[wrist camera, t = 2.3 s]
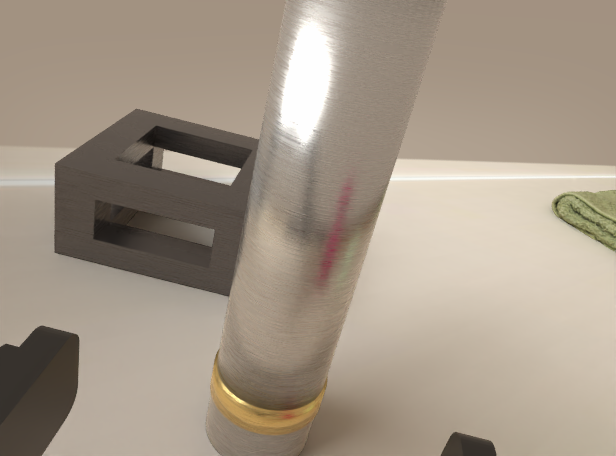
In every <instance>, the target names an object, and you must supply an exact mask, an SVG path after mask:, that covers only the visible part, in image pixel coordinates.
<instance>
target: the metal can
mask: <svg viewBox="0 0 616 456" xmlns="http://www.w3.org/2000/svg"><path fill="white" fill-rule="evenodd" d="M446 3H447V0H286V3H285V8H284V13H283V18H282V24H281V29H280V35H279V40H278V45H277V50H276V55H275V60H274V66H273V71H272V76H271V82H270V87H269V92H268V97H267V102H266V108H265V113H264V118H263V123H262V129H261V134H260V139H259V144H258V150H257V155H256V160H255V165H254V171H253V176H252V181H251V186H250V192H249V197H248V202H247V207H246V212H245V218H244V223H243V228H242V233H241V239H240V244H239V249H238V254H237V260H236V265H235V270H234V275H233V281H232V286H231V291H230V296H229V302H228V307H227V312H226V317H225V323H224V328H223V333H222V338H221V344H220V348H219V350H218V352H217V354H216V357H215V362H214V367H213V372H212V378H211V385H210V389H211V396H210V401H209V407H208V412H207V417H206V431H207V435H208V438H209V440H210V442H211V444H212V445H213V447H214V448H215V449H216V451H217V452H218V453H219V454H220V455H221V456H298V455H299V454H300V453H301V452H302V450H303V448H304V446H305V443H306V440H307V437H308V434H309V431H310V428H311V425H312V422H313V419H314V418H315V416H316V415H317V413H318V410H319V408H320V405H321V402H322V399H323V395H324V392H325V389H326V386H327V375H328V372H329V368H330V365H331V362H332V359H333V356H334V353H335V350H336V347H337V343H338V340H339V337H340V334H341V331H342V328H343V325H344V322H345V318H346V315H347V312H348V309H349V306H350V303H351V300H352V297H353V293H354V290H355V287H356V284H357V281H358V278H359V275H360V272H361V268H362V265H363V262H364V259H365V256H366V253H367V250H368V246H369V243H370V240H371V237H372V234H373V231H374V228H375V225H376V221H377V218H378V215H379V212H380V209H381V206H382V203H383V200H384V196H385V193H386V190H387V187H388V184H389V181H390V178H391V175H392V171H393V168H394V165H395V162H396V159H397V155H398V153H399V150H400V146H401V143H402V140H403V137H404V134H405V131H406V128H407V124H408V121H409V118H410V115H411V112H412V109H413V106H414V102H415V99H416V96H417V93H418V90H419V87H420V84H421V81H422V77H423V74H424V71H425V68H426V65H427V62H428V59H429V56H430V53H431V50H432V46H433V43H434V40H435V37H436V34H437V30H438V27H439V24H440V21H441V18H442V15H443V12H444V9H445V6H446Z"/></svg>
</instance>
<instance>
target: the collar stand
mask: <svg viewBox="0 0 616 456" xmlns="http://www.w3.org/2000/svg"><path fill="white" fill-rule="evenodd" d="M258 144H259V139H254V138H251V137H247V136H243V135H239V134H234V133H231V132H226V131H223V130H219V129H215V128H211V127H207V126H203V125H199V124H195V123H191V122H187V121H183V120H179V119H175V118H171V117H167V116H163V115H159V114H156V113H151V112H148V111H143V110H140V109H135V110H134V111H133V112H131V113H129V114H128V115H126V116H125V117H124V118H122V119H120V120H119V121H117V122H116V123H115V124H113V125H112V126H110V127H109V128H107V129H106V130H104V131H103V132H101V133H100V134H98V135H97V136H95V137H94V138H92V139H91V140H89V141H88V142H86V143H85V144H83V145H82V146H80V147H79V148H77V149H76V150H74V151H73V152H71V153H70V154H69V155H67V156H66V157H64V158H63V159H61V160H60V161H58V162H57V163H55V253H59V254H63V255H67V256H71V257H75V258H79V259H83V260H87V261H91V262H95V263H99V264H103V265H107V266H111V267H115V268H119V269H123V270H127V271H131V272H135V273H139V274H143V275H147V276H151V277H155V278H159V279H163V280H167V281H171V282H175V283H179V284H183V285H187V286H191V287H195V288H199V289H203V290H207V291H211V292H215V293H219V294H223V295H227V296H230V291H231V286H232V281H233V275H234V270H235V265H236V260H237V254H238V249H239V244H240V239H241V233H242V228H243V223H244V218H245V212H246V207H247V202H248V197H249V192H250V186H251V181H252V176H253V171H254V165H255V160H256V155H257V150H258ZM164 149H166V150H170V151H174V152H178V153H182V154H186V155H190V156H194V157H198V158H202V159H206V160H210V161H213V162H217V163H221V164H225V165H229V166H233V167H237V168H241V170H240V172H239V173H238V175H237V177H236V178H235V180H234V182H233V183H232V185H231V186H229V185H225V184H221V183H217V182H213V181H209V180H205V179H201V178H197V177H193V176H189V175H185V174H181V173H177V172H173V171H169V170H165V169H162V161H163V151H164ZM138 211H143V212H147V213H151V214H155V215H159V216H163V217H167V218H171V219H175V220H179V221H183V222H187V223H191V224H195V225H199V226H203V227H207V228H211V229H215V235H214V241H213V247H209V246H205V245H201V244H197V243H193V242H189V241H185V240H181V239H177V238H173V237H169V236H165V235H161V234H157V233H153V232H149V231H145V230H141V229H137V228H133V227H129V226H125V225H126V224H127V223H128V222H129V220H130V219H131V218H132V217H133V216H134V215H135V214H136V213H137V212H138Z"/></svg>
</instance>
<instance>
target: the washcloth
mask: <svg viewBox="0 0 616 456" xmlns="http://www.w3.org/2000/svg"><path fill="white" fill-rule="evenodd" d="M552 209H553V211H554V213H555V214H556V216H557V217H559V218H561V219H562V220H564V221H566V222H567V223H569V224H570V225H572V226H574V227H575V228H577V229H578V230H580V231H581V232H583V233H584V234H586V235H587V236H589V237H591V238H592V239H594V240H597V241H599V242H601V243H602V244H603V245H604V246H606V247H608V248H610V249H611V250H613V251H615V252H616V190H610V191H600V192H597V193H592V192H588V191H587V192H567V193H563V194H561V195H559V196H557V197H556V198H555V199H554V200H553V201H552Z"/></svg>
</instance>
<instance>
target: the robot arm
mask: <svg viewBox="0 0 616 456" xmlns="http://www.w3.org/2000/svg"><path fill="white" fill-rule="evenodd" d="M78 365H79V337H78V335H77V334H73V333H69V332H65V331H61V330H57V329H53V328H49V327H45V326H39V327H37V328H36V329H35V330H34V331H33V332H32V333H31V334H30V336H29V337H28V338H27V339H26V340H25V341H24V342H23V343H22V344H21V346H20V347H16V346H12V345H9V344H5V345H3V346H1V347H0V456H42V454H43V453H44V451H45V450H46V448H47V447H48V445H49V444H50V442H51V441H52V439H53V438H54V436H55V435H56V433H57V432H58V430H59V429H60V427H61V425H62V424H63V422H64V421H65V419H66V418H67V416H68V414H69V413H70V410H71V408H72V406H73V403H74V401H75V397H76V394H77V388H78ZM441 456H496V451H495V448H494V445H493V443H492V442H491V441H489V440H485V439H481V438H477V437H473V436H469V435H465V434H461V433H457V432H454V433H453V434H452V435H451V436H450V438H449V440H448V442H447V444H446V446H445V448H444V450H443V452H442V454H441Z"/></svg>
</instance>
